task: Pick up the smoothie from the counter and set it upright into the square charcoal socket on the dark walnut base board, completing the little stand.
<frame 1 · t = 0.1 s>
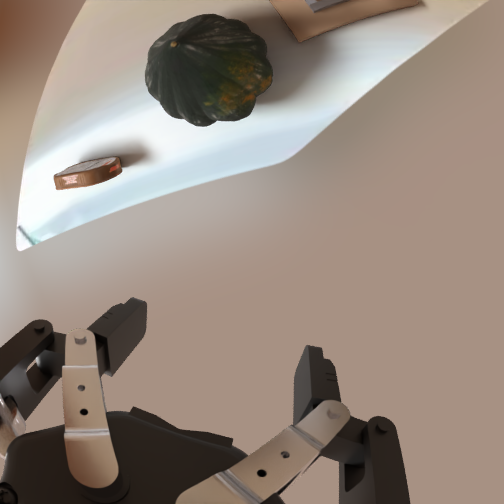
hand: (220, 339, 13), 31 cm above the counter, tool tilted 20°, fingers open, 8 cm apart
tin: (99, 163, 44), on the counter
squash: (221, 69, 32), on the counter
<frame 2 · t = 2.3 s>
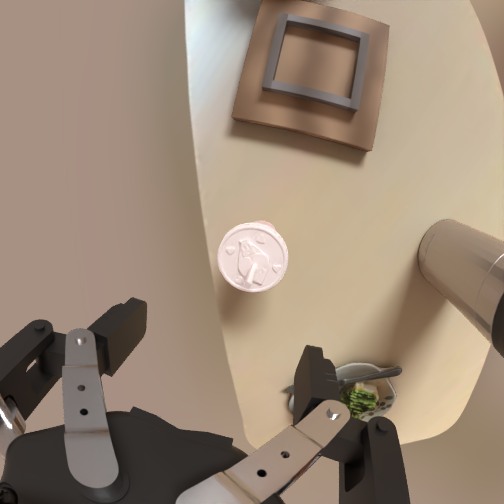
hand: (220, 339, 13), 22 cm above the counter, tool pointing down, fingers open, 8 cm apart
smoothie: (261, 234, 34), on the counter
base board: (315, 66, 27), on the counter
salad plate: (339, 397, 41), on the counter
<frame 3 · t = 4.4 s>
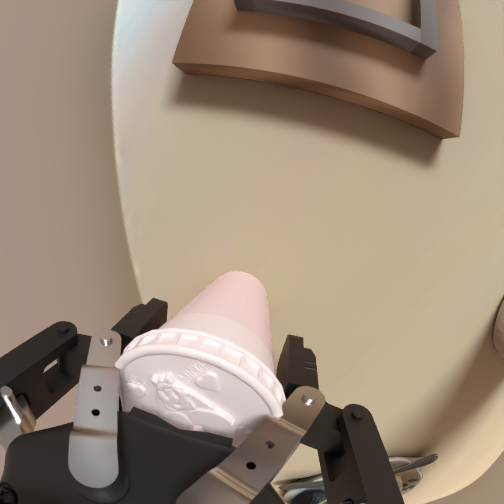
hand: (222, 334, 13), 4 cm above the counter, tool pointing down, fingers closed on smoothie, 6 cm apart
smoothie: (238, 297, 17), on the counter, touching gripper
salad plate: (351, 484, 24), on the counter
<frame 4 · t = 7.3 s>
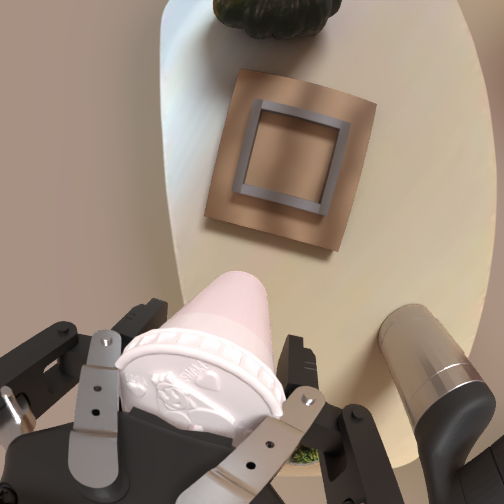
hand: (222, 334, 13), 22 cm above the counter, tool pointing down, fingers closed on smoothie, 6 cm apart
smoothie: (238, 297, 18), point 17 cm above the counter, touching gripper
base board: (291, 156, 31), on the counter
squash: (278, 10, 25), on the counter
salad plate: (305, 436, 45), on the counter
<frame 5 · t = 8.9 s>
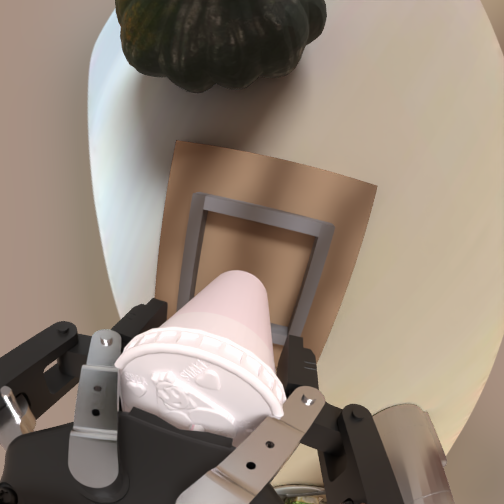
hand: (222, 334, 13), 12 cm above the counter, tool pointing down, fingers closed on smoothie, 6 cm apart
smoothie: (238, 296, 17), point 7 cm above the counter, touching gripper
base board: (253, 262, 24), on the counter
squash: (235, 35, 19), on the counter
salad plate: (287, 496, 38), on the counter
when the fingers open (7 cm above the counter, at t = 10.3 s): smoothie stays where it is, resting on base board.
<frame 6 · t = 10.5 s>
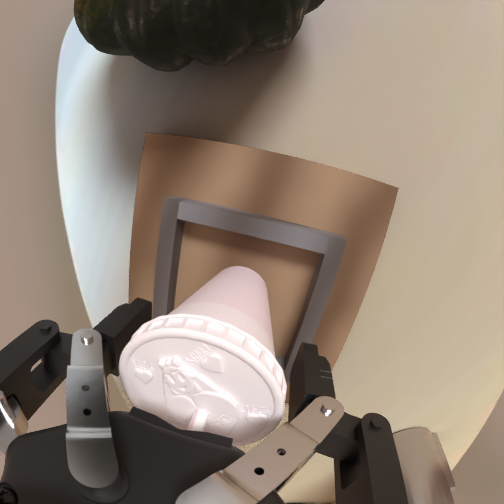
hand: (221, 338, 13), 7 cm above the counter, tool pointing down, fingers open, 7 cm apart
smoothie: (239, 291, 18), point 2 cm above the counter, touching base board
base board: (243, 281, 20), on the counter
squash: (222, 8, 14), on the counter
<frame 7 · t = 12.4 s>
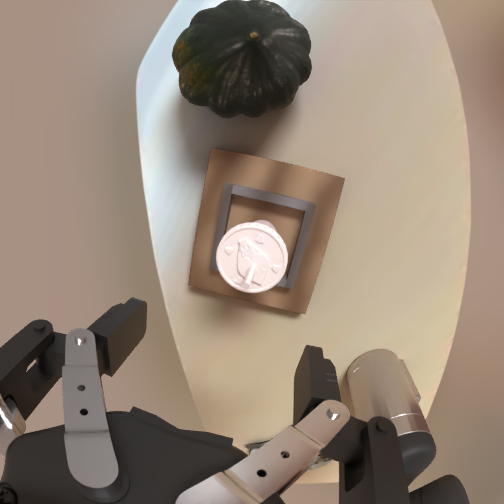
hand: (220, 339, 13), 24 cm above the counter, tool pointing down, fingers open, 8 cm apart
smoothie: (261, 234, 34), point 2 cm above the counter, touching base board
base board: (262, 231, 36), on the counter
squash: (249, 72, 30), on the counter
salad plate: (289, 451, 49), on the counter
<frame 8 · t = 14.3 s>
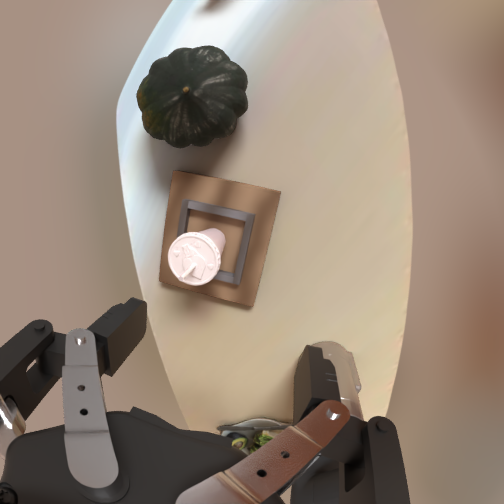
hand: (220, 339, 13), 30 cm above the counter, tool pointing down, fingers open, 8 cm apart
smoothie: (213, 240, 41), point 2 cm above the counter, touching base board
base board: (216, 237, 43), on the counter
squash: (205, 104, 38), on the counter
salad plate: (258, 435, 57), on the counter
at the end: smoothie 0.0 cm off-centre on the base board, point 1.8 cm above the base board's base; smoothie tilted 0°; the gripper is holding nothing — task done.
